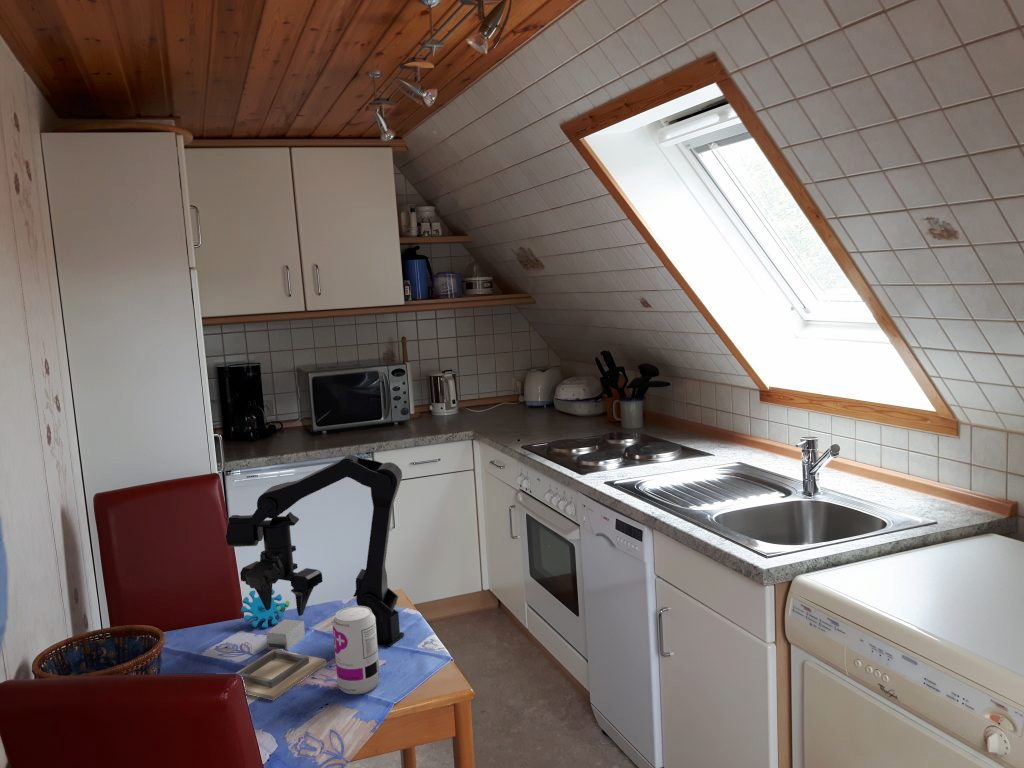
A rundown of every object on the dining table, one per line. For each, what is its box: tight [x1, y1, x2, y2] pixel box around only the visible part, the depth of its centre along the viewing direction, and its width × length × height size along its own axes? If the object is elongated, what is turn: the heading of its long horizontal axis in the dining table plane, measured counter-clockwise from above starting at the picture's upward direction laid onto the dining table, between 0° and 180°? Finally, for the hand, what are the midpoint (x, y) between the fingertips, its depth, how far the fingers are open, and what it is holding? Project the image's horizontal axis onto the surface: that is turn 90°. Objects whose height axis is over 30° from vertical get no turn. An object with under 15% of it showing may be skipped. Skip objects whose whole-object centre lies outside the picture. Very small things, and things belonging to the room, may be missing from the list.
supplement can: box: [332, 605, 381, 695], centre depth 162 cm, size 8×8×15 cm
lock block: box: [265, 618, 306, 651], centre depth 184 cm, size 5×7×4 cm
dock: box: [236, 649, 327, 700], centre depth 169 cm, size 14×16×2 cm
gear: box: [240, 588, 291, 629], centre depth 197 cm, size 11×6×10 cm
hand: (284, 612), depth 183 cm, fingers open, 9 cm apart
